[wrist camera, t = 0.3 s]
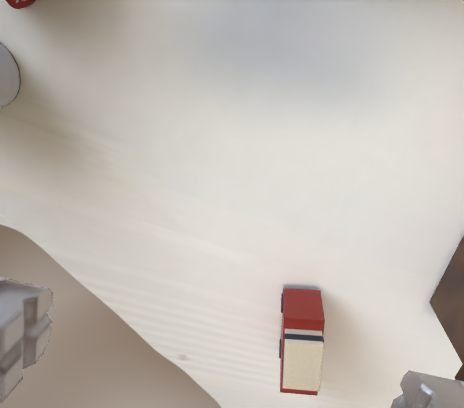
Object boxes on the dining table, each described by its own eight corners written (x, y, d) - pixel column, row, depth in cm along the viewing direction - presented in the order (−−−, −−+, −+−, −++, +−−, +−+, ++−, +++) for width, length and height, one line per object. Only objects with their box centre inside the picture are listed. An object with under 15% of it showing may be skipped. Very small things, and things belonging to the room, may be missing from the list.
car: (282, 283, 54) (281, 331, 45) (321, 286, 53) (328, 334, 45) (279, 353, 59) (278, 408, 51) (314, 356, 59) (320, 412, 50)
